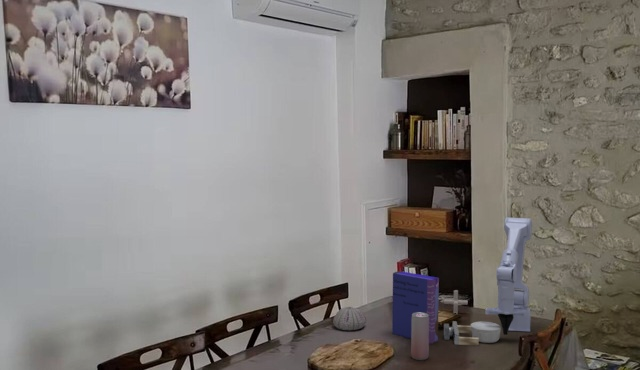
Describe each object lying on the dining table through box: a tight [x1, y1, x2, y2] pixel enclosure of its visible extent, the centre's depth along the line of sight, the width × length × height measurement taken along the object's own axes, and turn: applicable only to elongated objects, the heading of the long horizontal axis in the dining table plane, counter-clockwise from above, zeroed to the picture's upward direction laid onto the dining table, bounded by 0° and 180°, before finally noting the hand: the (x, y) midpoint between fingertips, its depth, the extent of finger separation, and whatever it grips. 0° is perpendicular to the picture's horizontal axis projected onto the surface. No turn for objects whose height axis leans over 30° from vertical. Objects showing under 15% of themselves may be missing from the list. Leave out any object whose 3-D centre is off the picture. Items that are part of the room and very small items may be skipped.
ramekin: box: [470, 321, 503, 344], centre depth 230 cm, size 11×11×5 cm
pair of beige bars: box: [457, 324, 480, 347], centre depth 232 cm, size 7×16×2 cm, turn 171°
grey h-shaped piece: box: [443, 320, 460, 346], centre depth 232 cm, size 5×16×4 cm, turn 171°
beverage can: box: [410, 312, 430, 361], centre depth 210 cm, size 6×6×15 cm
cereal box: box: [391, 270, 440, 345], centre depth 232 cm, size 17×5×24 cm, turn 47°
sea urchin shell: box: [332, 306, 367, 331], centre depth 246 cm, size 13×14×8 cm
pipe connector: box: [443, 289, 468, 315], centre depth 265 cm, size 10×10×10 cm
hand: (505, 334), depth 229 cm, fingers closed
